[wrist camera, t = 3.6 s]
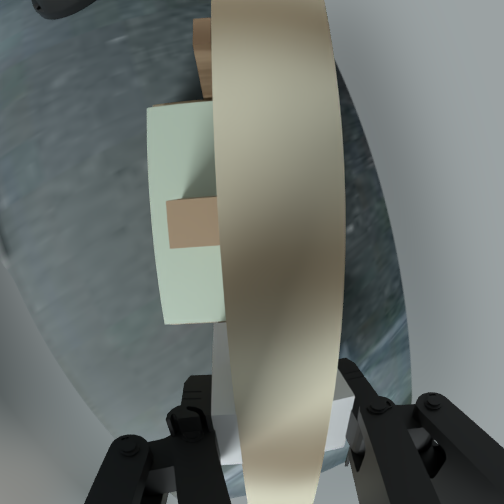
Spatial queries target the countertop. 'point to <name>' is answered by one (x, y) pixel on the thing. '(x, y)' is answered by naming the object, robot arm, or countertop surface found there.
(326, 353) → the bar
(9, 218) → the countertop surface
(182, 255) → the lid
